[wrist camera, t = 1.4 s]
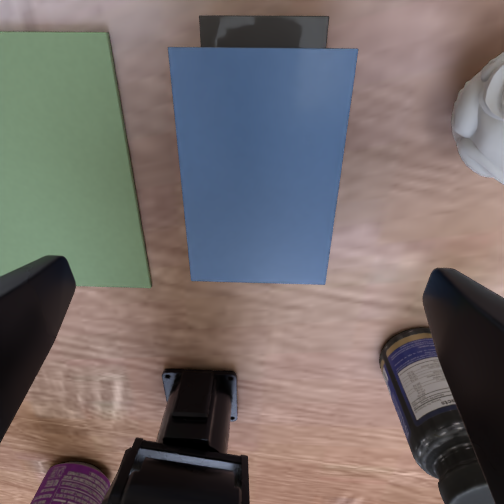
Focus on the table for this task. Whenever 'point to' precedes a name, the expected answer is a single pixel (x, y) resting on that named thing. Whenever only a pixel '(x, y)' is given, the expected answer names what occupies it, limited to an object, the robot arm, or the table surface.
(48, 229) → the green mat
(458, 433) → the pill bottle
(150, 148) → the table surface
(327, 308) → the table surface
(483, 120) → the frog figurine
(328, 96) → the blue book
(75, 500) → the beverage can
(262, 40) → the black notebook
